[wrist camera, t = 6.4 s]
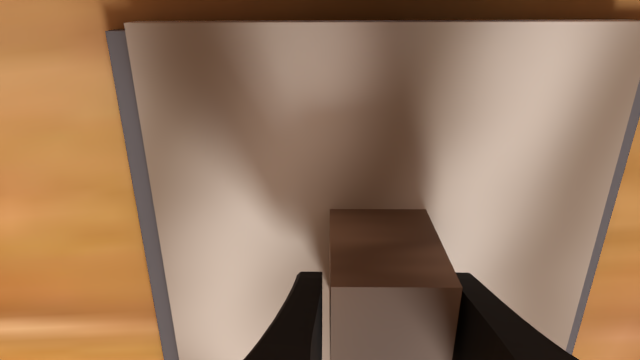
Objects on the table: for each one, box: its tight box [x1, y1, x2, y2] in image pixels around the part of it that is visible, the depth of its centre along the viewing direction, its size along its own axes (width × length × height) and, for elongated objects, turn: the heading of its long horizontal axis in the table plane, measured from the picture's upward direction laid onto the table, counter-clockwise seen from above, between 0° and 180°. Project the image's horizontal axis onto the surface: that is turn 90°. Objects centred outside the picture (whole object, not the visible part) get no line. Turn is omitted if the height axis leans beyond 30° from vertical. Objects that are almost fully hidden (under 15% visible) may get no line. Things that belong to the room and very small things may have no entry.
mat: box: [105, 30, 640, 360], centre depth 16 cm, size 16×14×1 cm
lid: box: [124, 19, 640, 360], centre depth 13 cm, size 14×14×5 cm
